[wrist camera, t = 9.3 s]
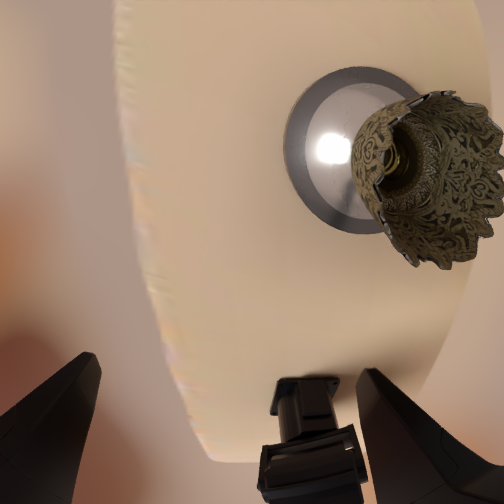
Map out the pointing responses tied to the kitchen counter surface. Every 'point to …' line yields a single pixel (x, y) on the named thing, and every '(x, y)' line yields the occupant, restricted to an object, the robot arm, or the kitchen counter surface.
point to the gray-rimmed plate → (336, 142)
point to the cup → (431, 176)
